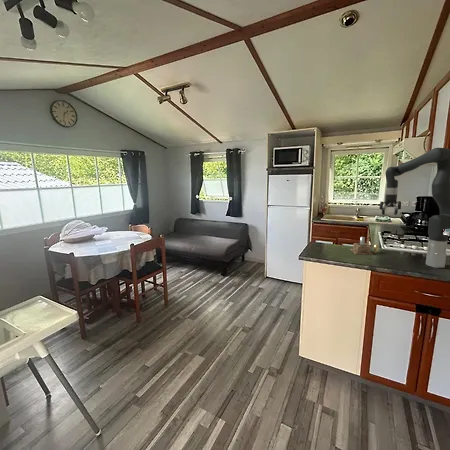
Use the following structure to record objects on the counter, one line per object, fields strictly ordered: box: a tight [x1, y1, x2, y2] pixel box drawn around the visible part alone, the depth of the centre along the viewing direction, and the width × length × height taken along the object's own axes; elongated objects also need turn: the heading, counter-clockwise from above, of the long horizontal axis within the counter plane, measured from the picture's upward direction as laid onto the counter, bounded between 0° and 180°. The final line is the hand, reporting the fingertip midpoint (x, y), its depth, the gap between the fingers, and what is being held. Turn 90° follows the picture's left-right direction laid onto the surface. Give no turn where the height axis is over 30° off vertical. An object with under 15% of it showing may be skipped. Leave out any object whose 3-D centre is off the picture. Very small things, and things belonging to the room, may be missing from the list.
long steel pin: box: [359, 236, 366, 246], centre depth 194 cm, size 3×3×12 cm
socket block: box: [350, 242, 374, 256], centre depth 195 cm, size 12×12×6 cm
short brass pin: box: [373, 243, 380, 254], centre depth 193 cm, size 3×3×6 cm
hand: (389, 214), depth 194 cm, fingers open, 8 cm apart
